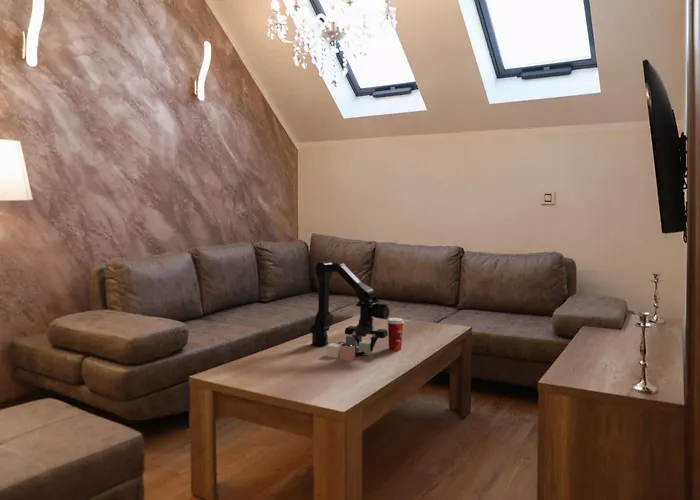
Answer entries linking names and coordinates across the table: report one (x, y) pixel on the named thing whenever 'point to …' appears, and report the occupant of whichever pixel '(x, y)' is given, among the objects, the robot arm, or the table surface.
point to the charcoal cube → (351, 340)
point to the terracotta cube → (347, 353)
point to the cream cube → (333, 350)
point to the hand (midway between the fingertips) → (365, 350)
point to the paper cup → (395, 333)
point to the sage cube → (365, 347)
